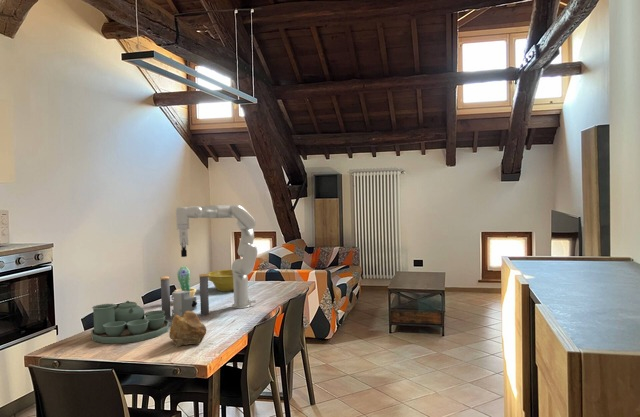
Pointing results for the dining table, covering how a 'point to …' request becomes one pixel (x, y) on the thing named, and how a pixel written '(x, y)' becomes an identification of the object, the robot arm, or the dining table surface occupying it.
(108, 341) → the tea set
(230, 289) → the planter bowl
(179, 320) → the rough brown rock
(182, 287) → the potted cactus
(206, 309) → the post
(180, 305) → the circuit breaker
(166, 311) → the post
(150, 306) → the dining table surface
